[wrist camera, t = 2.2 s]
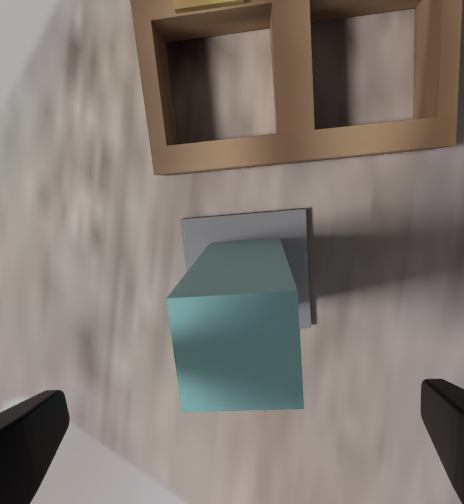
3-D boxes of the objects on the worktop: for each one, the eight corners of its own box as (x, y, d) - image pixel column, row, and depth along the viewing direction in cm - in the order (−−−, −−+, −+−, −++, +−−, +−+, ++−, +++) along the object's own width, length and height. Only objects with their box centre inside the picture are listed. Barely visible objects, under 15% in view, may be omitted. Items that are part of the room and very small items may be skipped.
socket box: (433, -26, 16) (471, -70, 13) (428, 149, 17) (461, 144, 15) (147, 16, 17) (125, -16, 14) (168, 175, 19) (151, 174, 16)
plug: (279, 238, 19) (297, 290, 10) (284, 305, 19) (303, 408, 11) (209, 243, 19) (166, 298, 10) (216, 309, 20) (182, 412, 11)
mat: (304, 208, 19) (305, 208, 18) (310, 325, 20) (311, 327, 20) (182, 218, 19) (180, 219, 19) (195, 330, 21) (194, 333, 20)
